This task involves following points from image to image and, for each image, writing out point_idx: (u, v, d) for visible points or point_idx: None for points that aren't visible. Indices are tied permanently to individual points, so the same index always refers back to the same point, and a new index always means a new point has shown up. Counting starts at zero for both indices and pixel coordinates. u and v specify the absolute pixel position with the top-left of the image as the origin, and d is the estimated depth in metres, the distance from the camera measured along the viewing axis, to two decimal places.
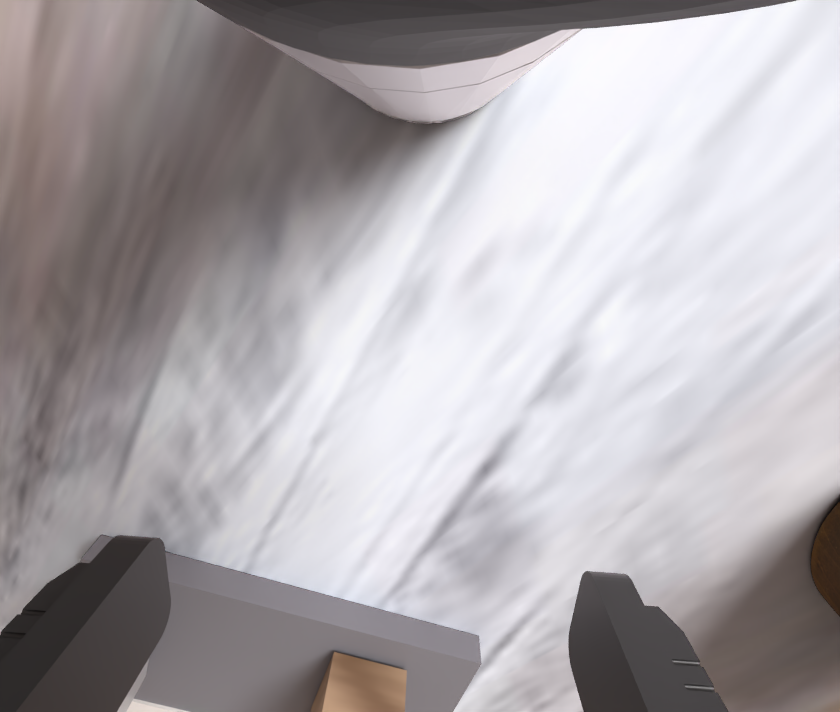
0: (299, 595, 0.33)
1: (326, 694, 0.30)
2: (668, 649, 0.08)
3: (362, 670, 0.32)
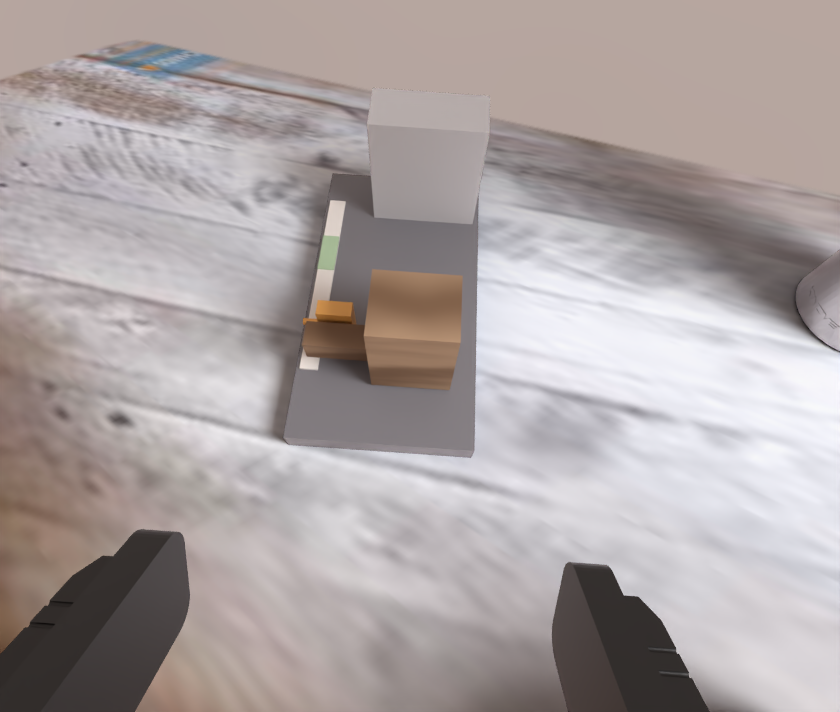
0: None
1: None
2: (645, 637, 0.08)
3: None
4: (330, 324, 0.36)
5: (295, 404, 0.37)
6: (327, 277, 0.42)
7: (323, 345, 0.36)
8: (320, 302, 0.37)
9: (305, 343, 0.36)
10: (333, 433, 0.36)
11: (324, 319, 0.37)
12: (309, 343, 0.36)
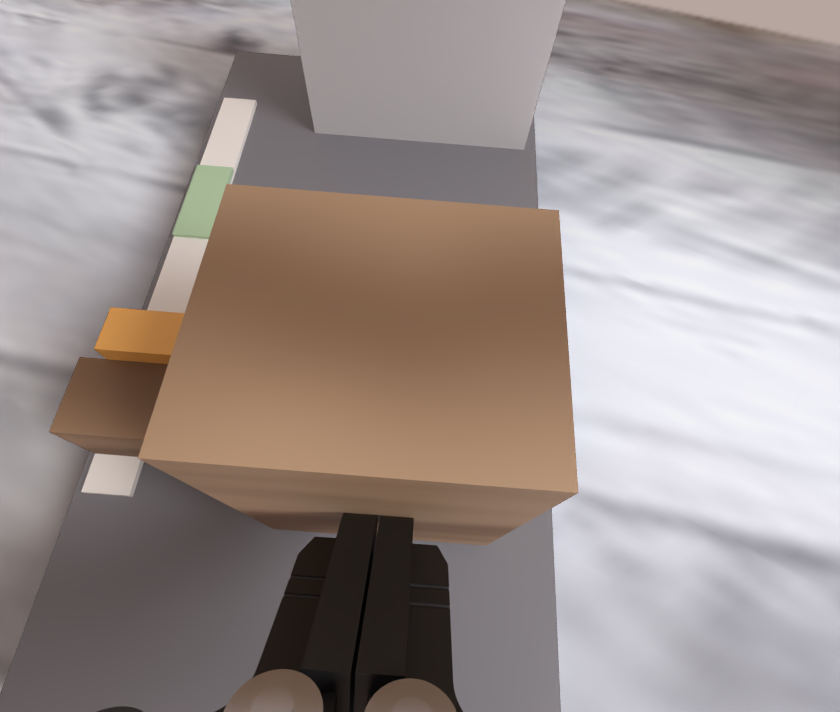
0: None
1: None
2: (426, 577, 0.09)
3: None
4: (147, 368, 0.13)
5: (51, 604, 0.13)
6: (192, 256, 0.18)
7: (113, 434, 0.12)
8: (116, 314, 0.13)
9: (60, 427, 0.12)
10: (145, 706, 0.12)
11: None
12: (72, 428, 0.12)
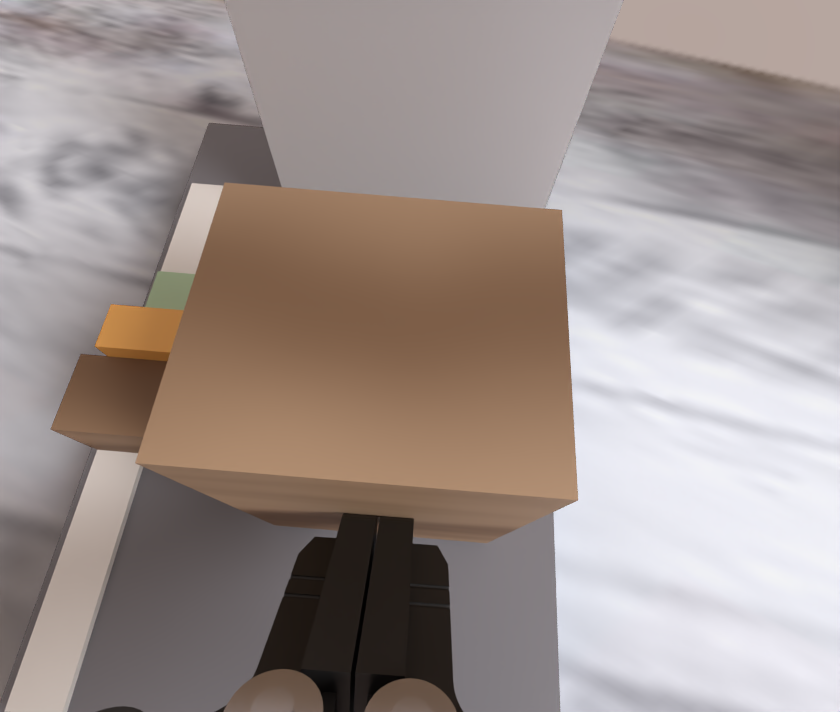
0: None
1: None
2: (426, 577, 0.09)
3: None
4: (148, 365, 0.13)
5: None
6: None
7: (115, 431, 0.12)
8: (117, 311, 0.13)
9: (62, 424, 0.12)
10: None
11: None
12: (72, 425, 0.12)
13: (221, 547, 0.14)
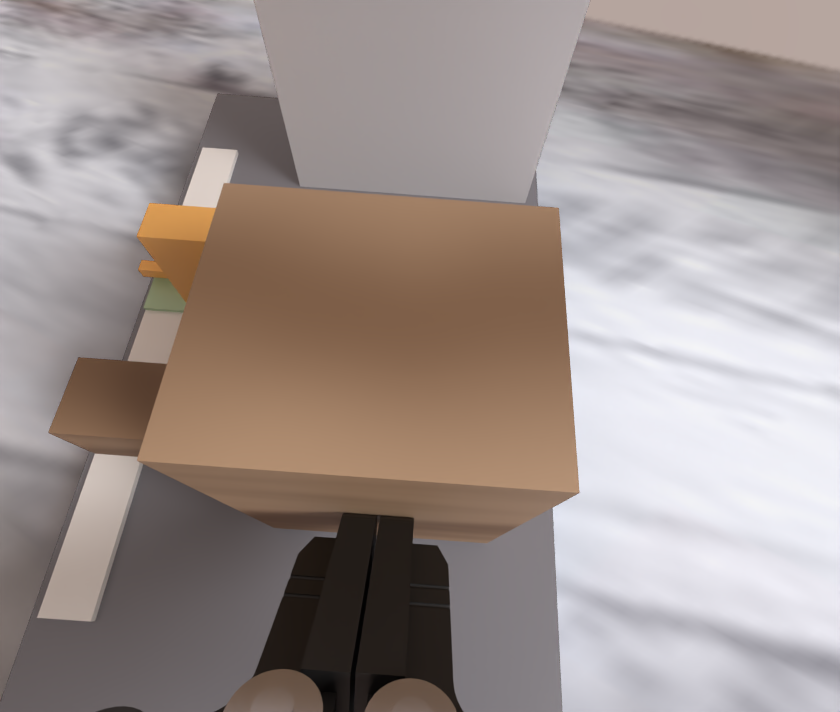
0: None
1: None
2: (426, 577, 0.09)
3: None
4: (146, 368, 0.13)
5: None
6: (166, 332, 0.17)
7: (113, 434, 0.12)
8: (155, 209, 0.14)
9: (60, 427, 0.12)
10: None
11: (167, 252, 0.14)
12: (71, 429, 0.12)
13: None
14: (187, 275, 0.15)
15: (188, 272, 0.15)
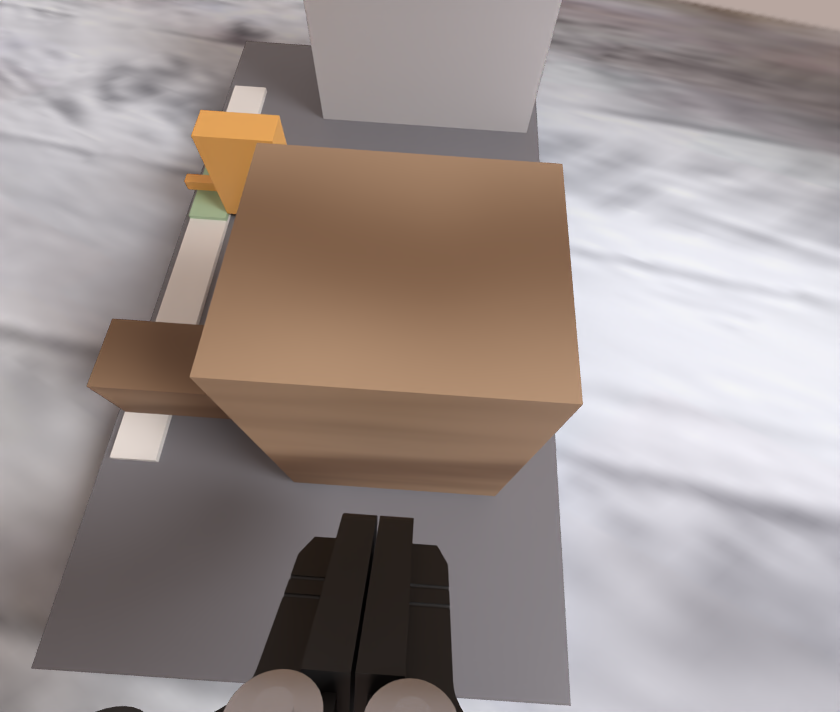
0: None
1: None
2: (426, 577, 0.09)
3: None
4: (176, 328, 0.13)
5: (84, 561, 0.14)
6: (209, 236, 0.19)
7: (147, 387, 0.13)
8: (206, 114, 0.16)
9: (97, 381, 0.13)
10: (176, 653, 0.13)
11: (216, 153, 0.16)
12: (107, 382, 0.13)
13: None
14: (230, 179, 0.17)
15: (232, 175, 0.17)
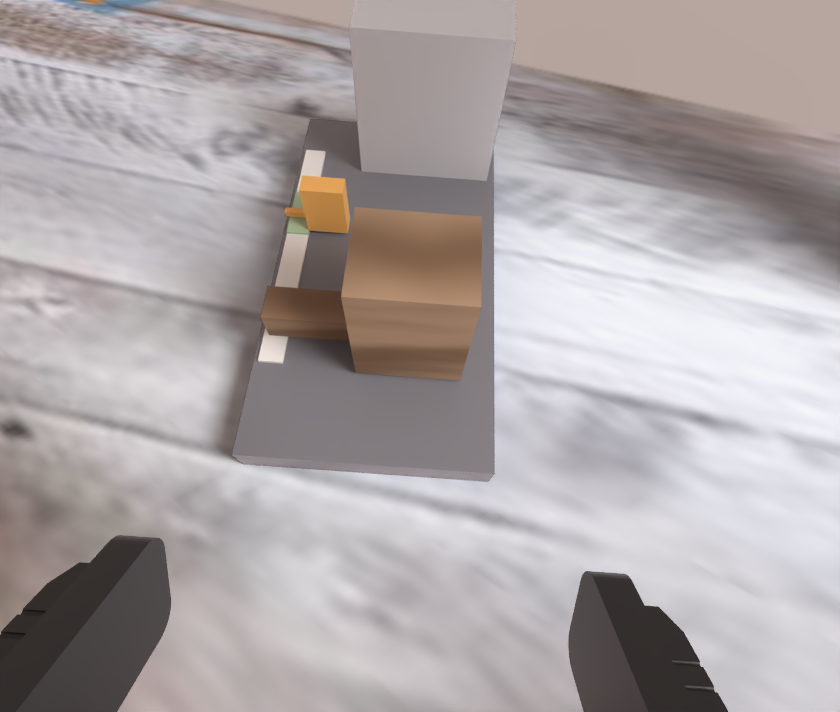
0: None
1: None
2: (668, 649, 0.08)
3: None
4: (300, 290, 0.27)
5: (250, 409, 0.27)
6: (299, 244, 0.32)
7: (289, 318, 0.26)
8: (305, 178, 0.30)
9: (265, 315, 0.26)
10: (301, 449, 0.26)
11: (310, 199, 0.30)
12: (270, 315, 0.26)
13: None
14: (315, 212, 0.31)
15: (316, 210, 0.31)
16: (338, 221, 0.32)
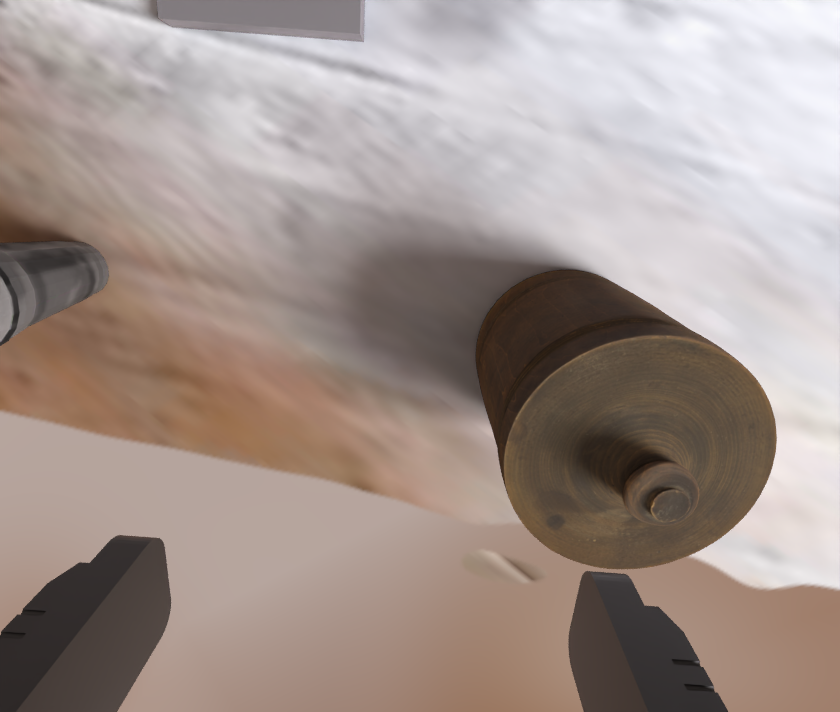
0: None
1: None
2: (668, 649, 0.08)
3: None
4: None
5: None
6: None
7: None
8: None
9: None
10: (209, 13, 0.34)
11: None
12: None
13: None
14: None
15: None
16: None
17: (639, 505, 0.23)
